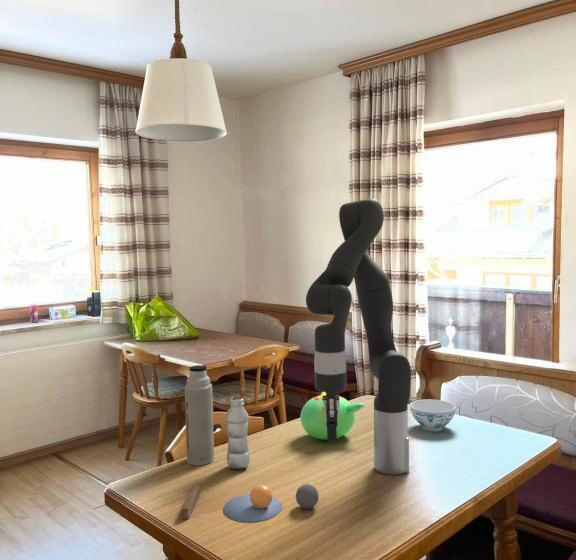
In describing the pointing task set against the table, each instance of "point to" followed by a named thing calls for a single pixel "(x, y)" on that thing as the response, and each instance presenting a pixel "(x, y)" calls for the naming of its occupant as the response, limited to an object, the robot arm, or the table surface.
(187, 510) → the walnut rail
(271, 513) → the blue mark
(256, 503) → the orange ball
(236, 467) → the plastic bottle
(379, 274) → the robot arm
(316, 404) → the green bird toy
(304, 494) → the charcoal ball
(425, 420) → the chinaware
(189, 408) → the thermos bottle
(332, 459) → the table surface
